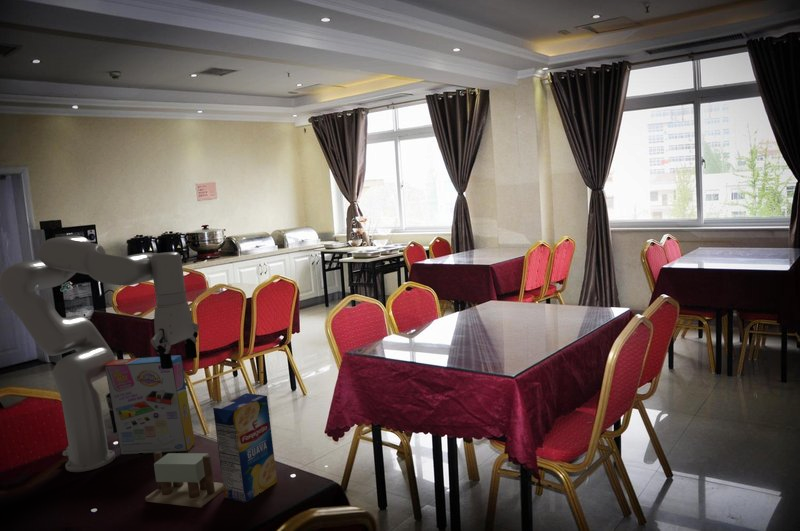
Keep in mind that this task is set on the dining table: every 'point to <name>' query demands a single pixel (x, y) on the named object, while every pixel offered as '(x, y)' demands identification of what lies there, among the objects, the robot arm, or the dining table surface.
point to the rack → (187, 488)
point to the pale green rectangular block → (180, 467)
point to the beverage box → (245, 446)
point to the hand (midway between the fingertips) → (179, 362)
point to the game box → (150, 405)
